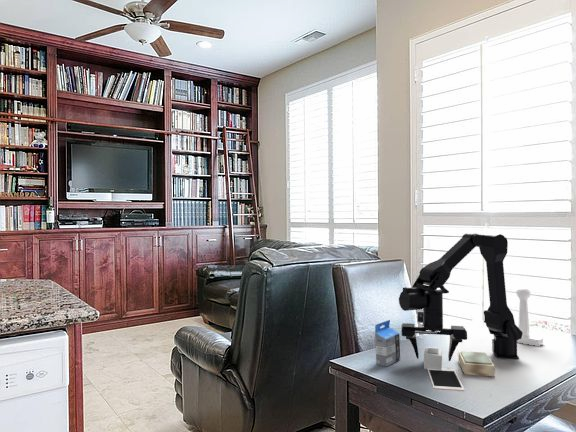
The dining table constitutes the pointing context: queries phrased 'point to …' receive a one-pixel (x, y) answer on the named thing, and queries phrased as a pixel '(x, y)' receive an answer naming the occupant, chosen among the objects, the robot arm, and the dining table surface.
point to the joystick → (525, 319)
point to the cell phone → (445, 379)
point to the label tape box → (386, 344)
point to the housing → (433, 358)
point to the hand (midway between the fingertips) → (433, 359)
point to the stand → (476, 363)
